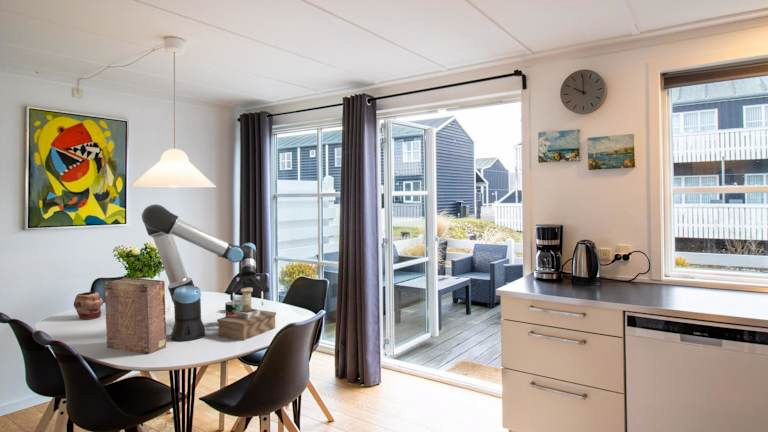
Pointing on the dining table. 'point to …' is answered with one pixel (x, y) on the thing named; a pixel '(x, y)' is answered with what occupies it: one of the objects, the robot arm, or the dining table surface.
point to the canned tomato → (230, 309)
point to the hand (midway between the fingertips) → (248, 304)
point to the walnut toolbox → (246, 324)
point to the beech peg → (247, 299)
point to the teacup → (240, 298)
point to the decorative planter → (88, 305)
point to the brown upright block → (135, 314)
